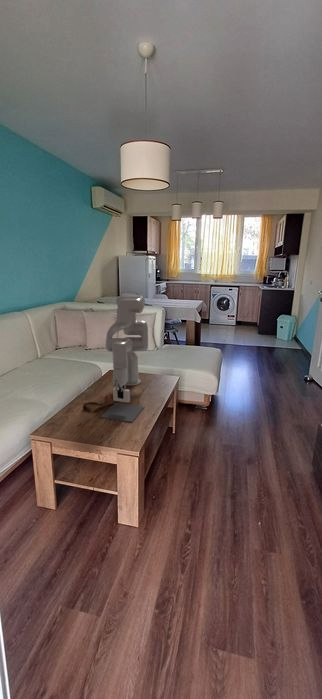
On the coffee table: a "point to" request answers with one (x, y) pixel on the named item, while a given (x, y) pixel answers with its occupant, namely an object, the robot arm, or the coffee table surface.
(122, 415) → the mat
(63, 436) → the coffee table surface
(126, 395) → the block
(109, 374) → the coffee table surface
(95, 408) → the sunglasses case
